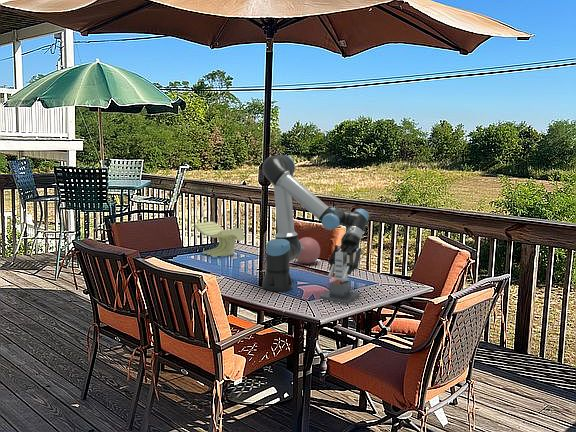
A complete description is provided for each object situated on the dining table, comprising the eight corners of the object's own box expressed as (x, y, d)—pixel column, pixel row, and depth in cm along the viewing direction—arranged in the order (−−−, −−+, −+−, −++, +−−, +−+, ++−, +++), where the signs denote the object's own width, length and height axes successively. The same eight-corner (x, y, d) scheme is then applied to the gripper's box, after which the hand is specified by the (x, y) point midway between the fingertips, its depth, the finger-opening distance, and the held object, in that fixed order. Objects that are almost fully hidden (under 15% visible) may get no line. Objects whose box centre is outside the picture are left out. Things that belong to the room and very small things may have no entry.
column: (338, 292, 275) (339, 251, 272) (345, 294, 273) (346, 252, 270) (333, 295, 271) (334, 252, 268) (341, 296, 269) (342, 253, 266)
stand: (333, 292, 282) (333, 274, 281) (359, 297, 275) (360, 278, 274) (319, 299, 270) (319, 281, 269) (347, 305, 263) (347, 285, 262)
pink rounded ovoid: (282, 264, 338) (282, 238, 335) (307, 259, 351) (307, 233, 348) (300, 269, 326) (300, 242, 324) (325, 263, 340) (326, 237, 337)
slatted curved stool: (243, 256, 356) (243, 227, 353) (221, 260, 346) (221, 230, 343) (216, 248, 379) (216, 221, 376) (195, 251, 369) (194, 223, 366)
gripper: (331, 231, 282) (315, 271, 270) (370, 235, 272) (354, 277, 260) (336, 240, 287) (320, 279, 276) (374, 244, 277) (359, 285, 266)
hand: (337, 278), depth 268 cm, fingers open, 7 cm apart
